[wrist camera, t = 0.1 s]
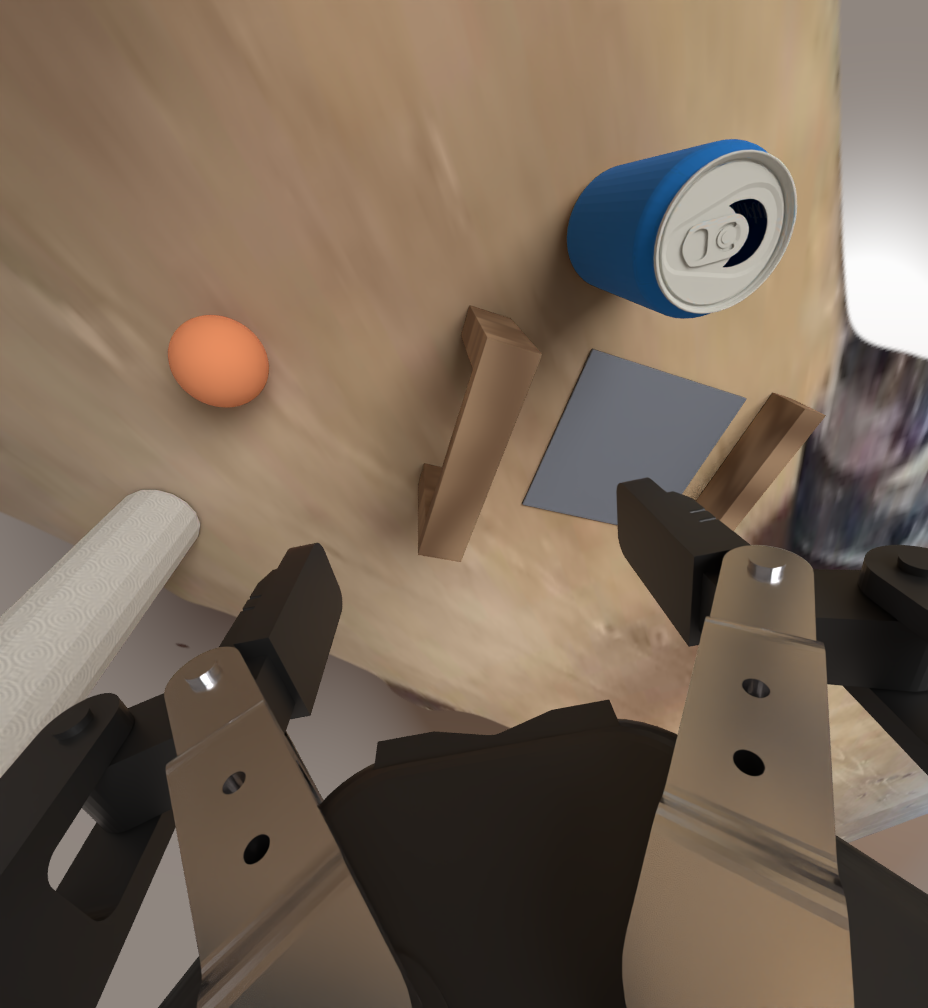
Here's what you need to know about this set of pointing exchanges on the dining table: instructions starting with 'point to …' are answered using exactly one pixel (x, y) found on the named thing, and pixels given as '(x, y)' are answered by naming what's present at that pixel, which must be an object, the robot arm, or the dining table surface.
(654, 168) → the beverage can
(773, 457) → the stopper
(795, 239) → the dining table surface
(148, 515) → the paper towel roll
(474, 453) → the bridge
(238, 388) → the ball
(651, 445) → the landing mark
